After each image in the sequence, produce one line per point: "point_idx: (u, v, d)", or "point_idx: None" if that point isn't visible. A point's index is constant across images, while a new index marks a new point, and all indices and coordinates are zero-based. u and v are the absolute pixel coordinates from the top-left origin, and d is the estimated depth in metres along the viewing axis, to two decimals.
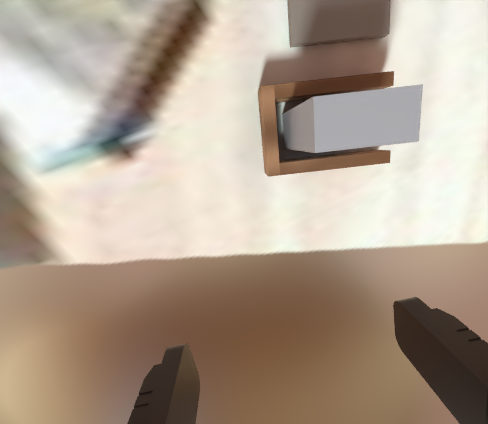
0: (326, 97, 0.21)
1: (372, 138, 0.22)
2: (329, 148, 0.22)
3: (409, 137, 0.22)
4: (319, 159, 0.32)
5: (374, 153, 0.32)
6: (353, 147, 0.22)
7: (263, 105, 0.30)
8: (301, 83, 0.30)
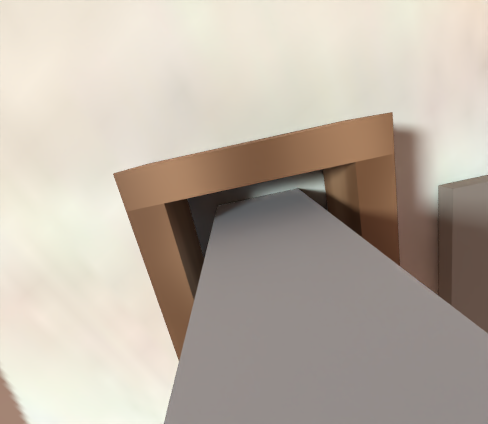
0: None
1: None
2: None
3: None
4: None
5: None
6: None
7: (334, 128, 0.09)
8: (393, 232, 0.11)
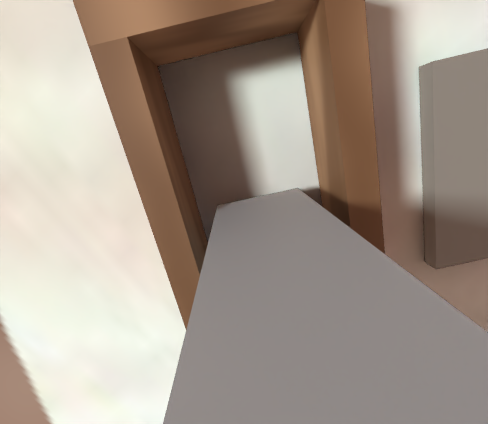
0: None
1: None
2: None
3: None
4: (164, 169, 0.11)
5: None
6: None
7: None
8: (365, 74, 0.10)
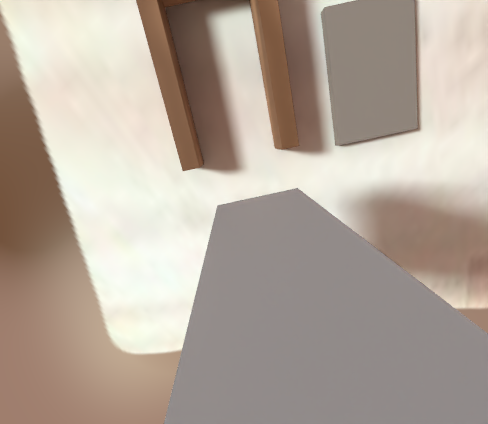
0: None
1: None
2: None
3: None
4: (169, 56, 0.20)
5: (192, 144, 0.22)
6: None
7: None
8: (275, 4, 0.20)
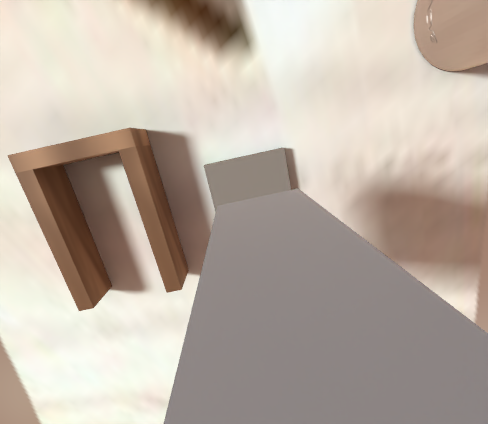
0: None
1: None
2: None
3: None
4: (55, 224, 0.23)
5: (84, 290, 0.25)
6: None
7: (105, 134, 0.21)
8: (144, 183, 0.22)
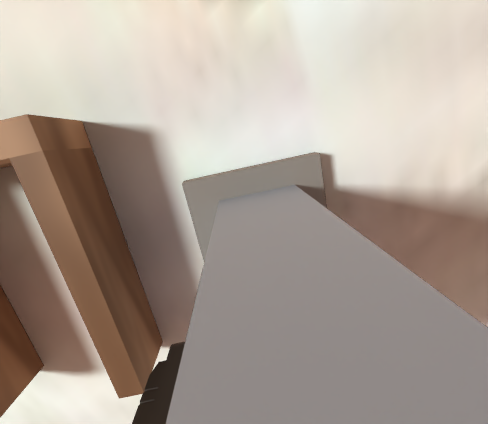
0: None
1: None
2: None
3: None
4: None
5: None
6: None
7: None
8: (66, 220, 0.12)
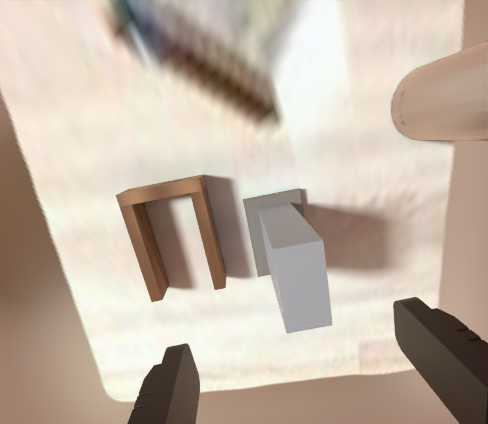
0: (322, 251, 0.23)
1: (288, 296, 0.24)
2: (277, 262, 0.23)
3: (289, 325, 0.25)
4: (142, 241, 0.34)
5: (157, 287, 0.35)
6: (279, 282, 0.23)
7: (182, 183, 0.32)
8: (206, 215, 0.33)
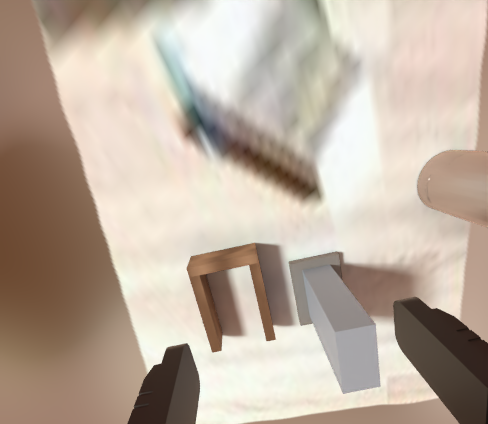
0: (374, 332, 0.28)
1: (345, 366, 0.30)
2: (338, 341, 0.29)
3: (345, 387, 0.30)
4: (207, 304, 0.39)
5: (217, 340, 0.41)
6: (339, 356, 0.29)
7: (242, 257, 0.37)
8: (261, 281, 0.39)
